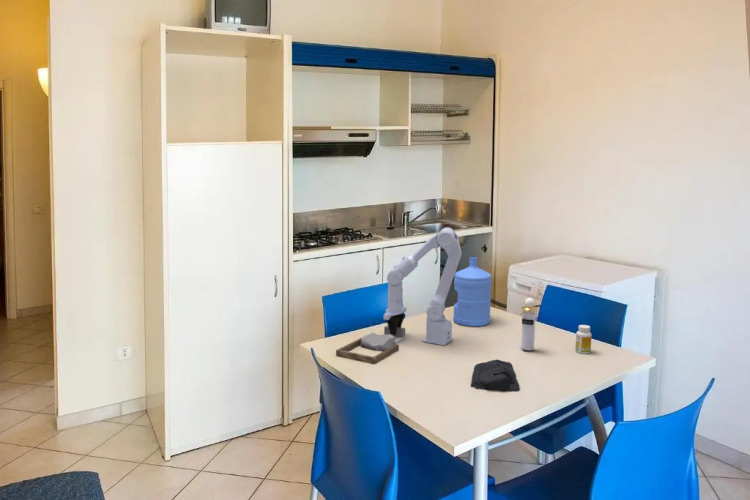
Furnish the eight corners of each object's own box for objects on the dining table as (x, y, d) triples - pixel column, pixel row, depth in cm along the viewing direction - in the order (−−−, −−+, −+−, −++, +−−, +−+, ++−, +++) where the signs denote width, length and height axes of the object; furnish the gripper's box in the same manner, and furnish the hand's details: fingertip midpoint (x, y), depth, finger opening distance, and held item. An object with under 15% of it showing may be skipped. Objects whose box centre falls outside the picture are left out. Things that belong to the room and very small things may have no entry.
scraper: (405, 338, 249) (405, 328, 248) (395, 344, 242) (395, 333, 241) (387, 335, 253) (387, 325, 252) (377, 341, 246) (377, 331, 245)
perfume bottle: (521, 346, 240) (523, 295, 236) (536, 348, 237) (539, 296, 234) (518, 351, 234) (520, 298, 231) (533, 353, 232) (536, 300, 228)
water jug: (497, 321, 272) (499, 257, 267) (476, 329, 261) (478, 262, 256) (467, 314, 282) (469, 252, 277) (445, 321, 271) (447, 257, 266)
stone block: (386, 356, 234) (397, 343, 242) (384, 345, 233) (396, 332, 241) (358, 352, 240) (369, 340, 248) (356, 341, 238) (368, 329, 246)
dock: (398, 350, 236) (398, 344, 235) (374, 364, 221) (374, 358, 221) (361, 342, 244) (361, 337, 244) (336, 355, 230) (336, 350, 229)
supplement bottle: (593, 351, 234) (594, 326, 233) (586, 355, 230) (588, 329, 229) (579, 348, 238) (580, 323, 236) (572, 351, 234) (574, 326, 232)
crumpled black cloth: (518, 369, 218) (518, 356, 217) (519, 394, 197) (520, 380, 196) (472, 366, 221) (473, 353, 220) (469, 390, 199) (470, 376, 199)
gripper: (395, 294, 255) (395, 326, 257) (376, 302, 243) (376, 336, 245) (411, 296, 251) (410, 329, 254) (392, 304, 239) (392, 339, 242)
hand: (395, 333), depth 249 cm, fingers closed on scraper, 3 cm apart
